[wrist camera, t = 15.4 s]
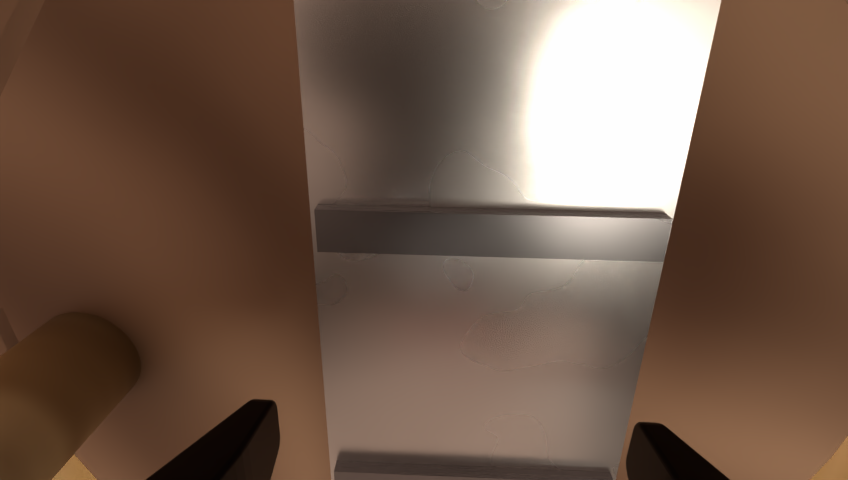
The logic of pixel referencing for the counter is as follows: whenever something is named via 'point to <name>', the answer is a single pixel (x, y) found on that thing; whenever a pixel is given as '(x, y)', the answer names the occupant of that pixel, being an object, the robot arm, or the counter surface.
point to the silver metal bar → (491, 223)
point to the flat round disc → (293, 247)
